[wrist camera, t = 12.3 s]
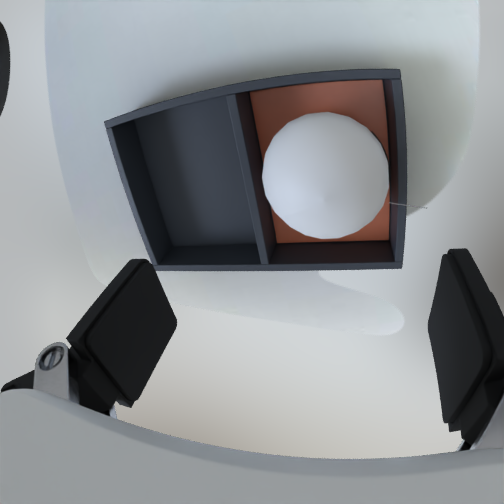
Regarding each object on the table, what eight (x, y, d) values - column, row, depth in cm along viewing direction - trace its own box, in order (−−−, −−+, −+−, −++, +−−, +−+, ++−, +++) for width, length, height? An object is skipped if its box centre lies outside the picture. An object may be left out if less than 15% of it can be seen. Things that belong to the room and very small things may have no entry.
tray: (172, 248, 29) (154, 271, 26) (130, 112, 22) (103, 121, 19) (395, 242, 23) (402, 269, 20) (389, 69, 16) (400, 68, 13)
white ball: (259, 182, 22) (227, 231, 16) (297, 88, 18) (279, 95, 12) (380, 239, 22) (391, 304, 16) (430, 156, 18) (469, 198, 12)
